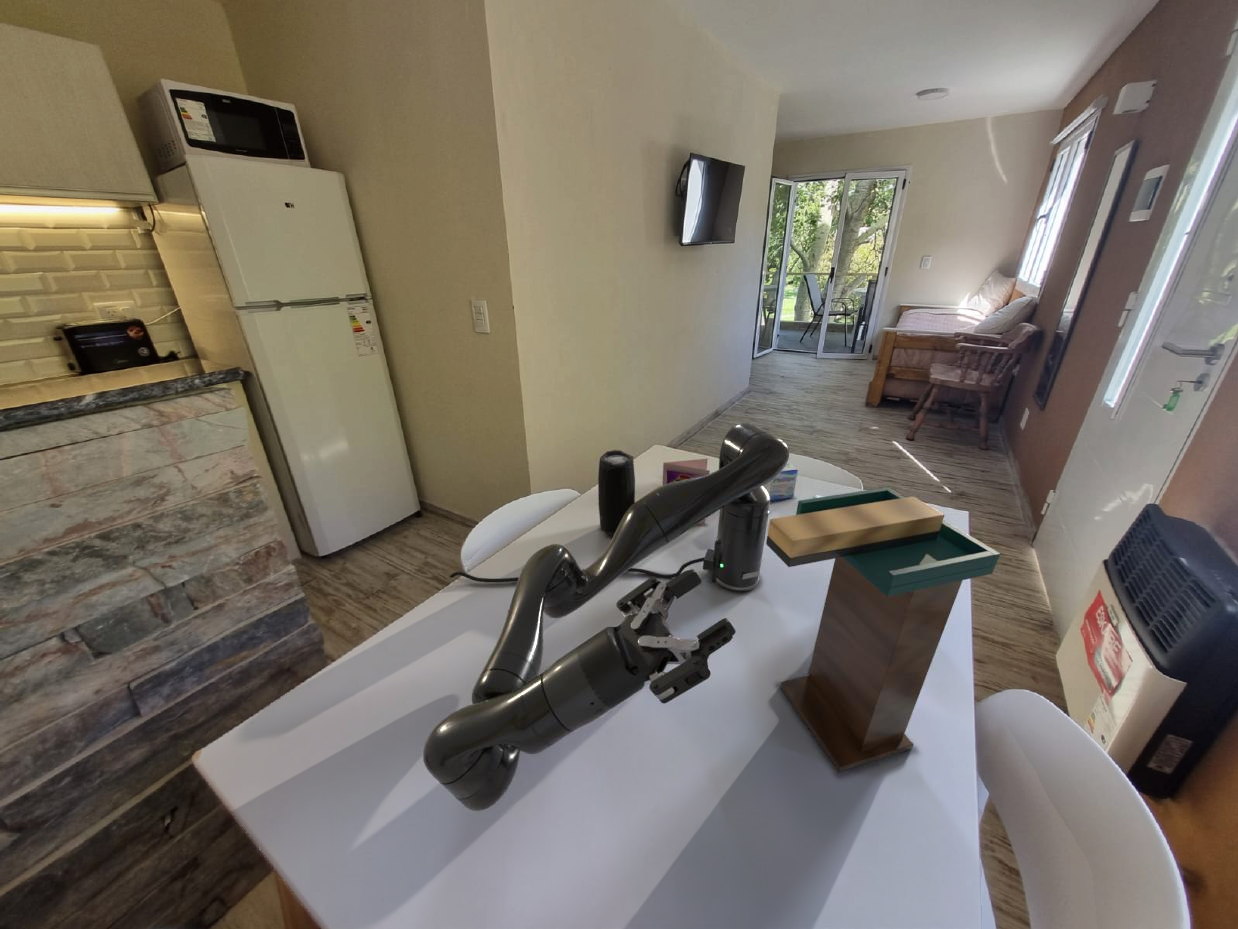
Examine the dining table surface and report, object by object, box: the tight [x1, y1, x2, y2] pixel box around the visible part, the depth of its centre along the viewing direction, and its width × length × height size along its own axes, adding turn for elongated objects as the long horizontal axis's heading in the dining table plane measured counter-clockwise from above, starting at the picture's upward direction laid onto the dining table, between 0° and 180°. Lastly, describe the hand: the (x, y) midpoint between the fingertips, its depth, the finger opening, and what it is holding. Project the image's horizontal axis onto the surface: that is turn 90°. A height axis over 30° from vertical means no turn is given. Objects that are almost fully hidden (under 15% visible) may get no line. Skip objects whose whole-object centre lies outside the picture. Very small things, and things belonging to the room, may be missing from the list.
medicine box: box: [764, 463, 799, 502], centre depth 131 cm, size 8×4×9 cm, turn 105°
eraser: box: [765, 496, 946, 568], centre depth 55 cm, size 20×5×3 cm, turn 106°
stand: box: [779, 557, 964, 773], centre depth 65 cm, size 12×14×31 cm
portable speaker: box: [597, 449, 636, 539], centre depth 113 cm, size 9×9×20 cm
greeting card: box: [661, 458, 711, 526], centre depth 120 cm, size 11×7×15 cm, turn 67°
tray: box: [795, 486, 1001, 597], centre depth 57 cm, size 14×16×3 cm
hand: (713, 597), depth 54 cm, fingers open, 8 cm apart
